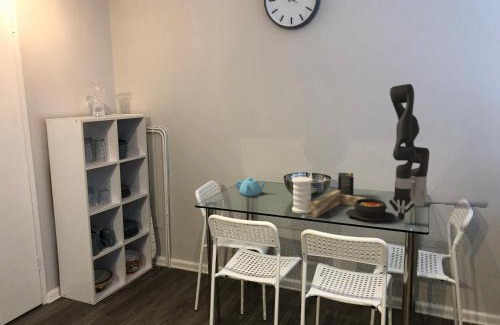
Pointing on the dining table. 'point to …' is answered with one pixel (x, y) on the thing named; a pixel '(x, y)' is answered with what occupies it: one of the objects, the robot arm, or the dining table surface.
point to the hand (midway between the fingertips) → (401, 219)
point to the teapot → (249, 187)
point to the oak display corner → (331, 202)
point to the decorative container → (302, 195)
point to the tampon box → (346, 183)
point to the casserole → (370, 210)
